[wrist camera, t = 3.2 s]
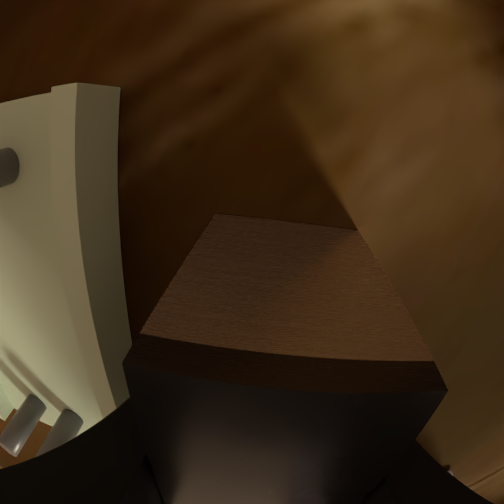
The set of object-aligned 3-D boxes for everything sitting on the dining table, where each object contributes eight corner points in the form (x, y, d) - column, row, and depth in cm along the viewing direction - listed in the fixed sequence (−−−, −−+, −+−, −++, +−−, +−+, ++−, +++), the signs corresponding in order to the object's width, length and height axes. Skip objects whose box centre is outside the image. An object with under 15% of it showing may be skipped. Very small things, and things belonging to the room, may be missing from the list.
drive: (358, 230, 9) (447, 390, 3) (302, 428, 12) (302, 553, 7) (215, 213, 9) (121, 362, 3) (210, 418, 12) (181, 542, 7)
